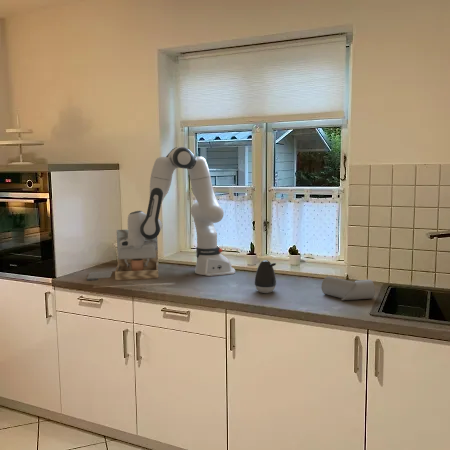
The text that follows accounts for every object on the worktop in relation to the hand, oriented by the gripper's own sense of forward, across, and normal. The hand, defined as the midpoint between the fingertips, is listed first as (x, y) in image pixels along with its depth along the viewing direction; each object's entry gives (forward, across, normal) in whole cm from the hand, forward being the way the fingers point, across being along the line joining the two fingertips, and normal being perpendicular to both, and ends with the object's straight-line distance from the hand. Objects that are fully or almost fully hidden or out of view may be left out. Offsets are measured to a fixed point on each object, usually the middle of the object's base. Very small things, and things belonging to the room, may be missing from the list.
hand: (137, 266), depth 254 cm
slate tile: (+5, +20, -2) cm, 21 cm away
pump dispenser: (+5, -61, +41) cm, 74 cm away
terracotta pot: (+4, 0, 0) cm, 4 cm away
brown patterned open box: (+5, 0, 0) cm, 5 cm away
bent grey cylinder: (+5, -95, +55) cm, 110 cm away
